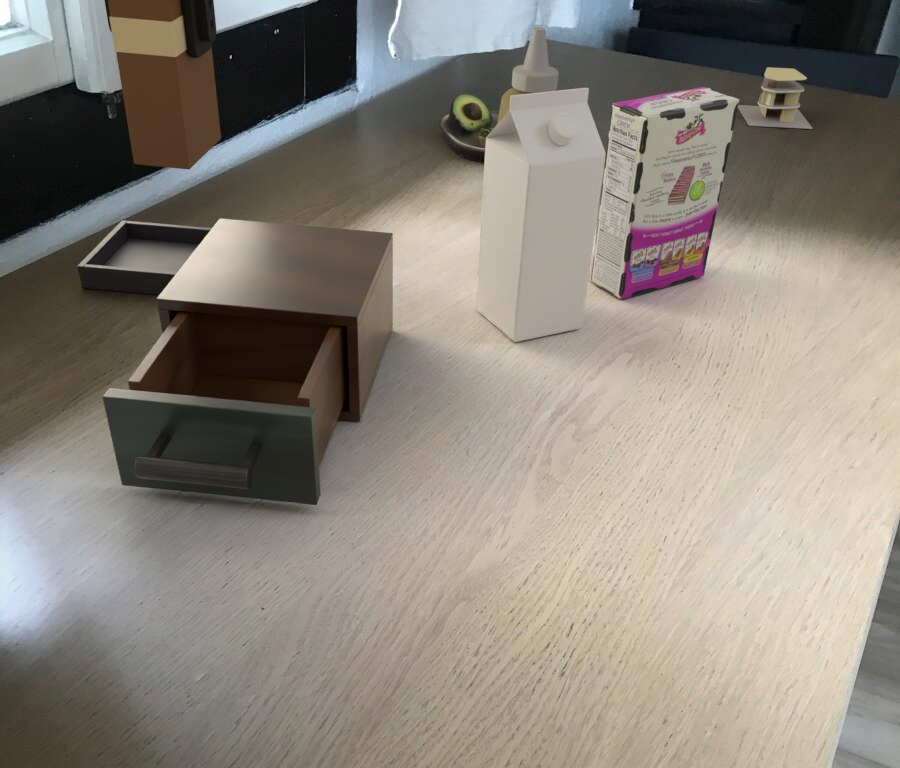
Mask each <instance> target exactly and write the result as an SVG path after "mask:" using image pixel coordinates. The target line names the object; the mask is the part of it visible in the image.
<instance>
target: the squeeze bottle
mask: <svg viewBox="0 0 900 768" xmlns="http://www.w3.org/2000/svg"><path fill="white" fill-rule="evenodd" d="M546 31H547V30H546V28H544V27H534V28H532V32H531V36H530V40H529V44H528V47H527V51H526V54H525V57H524V62H523V64H519V65H515V66H514V67H513V68H512V73H511V74H512V75H511V86H512V88H509V89H508V90H506V91H505V92H504V93H503V95H502V96H501V99H500V104H499V105H500V106H499V110H498V111H499V117H498V123H499V122H500V121H501V120H502V119H503V118H504V116H505V115H506V114H507V113H508V112H509V110H510V97H511V96H512V95H521V94H531V93H540V92H550V91H557V89H558V85H559V84H558V83H559V75H560V72H559V71H558V69H557V68H555V67H553V66H550V64H549V52H548V43H547V41H548V40H547V33H546Z"/></svg>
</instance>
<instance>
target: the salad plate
mask: <svg viewBox="0 0 900 768" xmlns="http://www.w3.org/2000/svg"><path fill="white" fill-rule="evenodd" d="M448 110H449V113H448V114H446V115H444V116H443V117H442V119H441V121H440V128H441V131H442V135H443V137H444V140H445V142H446V144H447V146H448V147H449V146H450V147H449V149H450V148H451V149H450V150H451V151H453V153H455V152H456V153H458V154H460V155H462V156H464V157H467V158H469V159H473V160H477V161H476V162H478V161H483V162H482V163H484V162H485V146H486V137H487V136H488V135H489V133H490V132H491V131H492V130H493V129H494V128H495V127H496V125H497V124H498V117H499V111H500V110H490V109H489V107H488V105H487V104H486V103H485V102H484V101H483V100H482V99H480V98H479V97H477V96H475V95H473V94H468V93H462V94H461V93H460V94H458V95H457V96H456V97H454V99H453V100H452V102H451V104H450V108H448ZM456 153H455V154H456ZM458 154H457V155H458ZM460 155H459V156H460ZM462 156H461V157H462ZM464 157H463V158H464ZM467 158H466V159H467ZM469 159H468V160H469ZM473 160H472V161H473Z"/></svg>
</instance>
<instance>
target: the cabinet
mask: <svg viewBox="0 0 900 768" xmlns="http://www.w3.org/2000/svg"><path fill="white" fill-rule="evenodd" d="M211 228H212V229H211V230H210V232H209V233H208V234H207V235H206V237H205V238H204V239H203V241H202V242H201V243H200V244H199V246H198V247H197V248H196V249H195V251H194V252H193V253H192V254H191V256H190V257H189V258H188V260H187V261H186V262H185V263H184V265H183V266H182V267H181V268H180V270H179V271H178V272H177V274H176V275H175V276H174V277H173V279H172V280H171V281H170V282H169V284H168V285H167V286H166V287H165V289H164V290H163V291H162V293H161V294H160V295H157V297H156V304H157V310H158V315H159V322H160V327H161V333H162V334H163V333H164V331H165V330H166V328H167V327H168V326H169V324H170V323H171V322H172V320H173V319H174V318H175V316H176V315H177V313H178V312H179V311H187V312H198V313H209V314H220V315H231V316H242V317H253V318H264V319H275V320H286V321H297V322H308V323H319V324H330V325H341V326H346V330H347V359H348V390H349V392H348V394H347V397H346V399H345V402H344V404H343V407H342V410H341V412H340V415H339V417H338V420H339V421H346V422H347V421H348V422H357V423H358V422H361V420H362V418H363V415H364V412H365V408H366V406H367V403H368V400H369V397H370V394H371V392H372V389H373V386H374V383H375V381H376V378H377V375H378V372H379V369H380V366H381V363H382V361H383V358H384V355H385V352H386V349H387V347H388V344H389V341H390V338H391V336H392V332H393V330H394V329H393V328H394V327H393V326H394V322H393V321H394V301H393V300H394V296H393V295H394V243H393V241H394V240H393V239H394V233H393V232H384V231H371V230H362V229H361V230H359V229H350V228H349V229H348V228H336V227H334V228H333V227H326V226H316V225H315V226H313V225H301V224H290V223H280V222H279V223H277V222H267V221H266V222H265V221H254V220H243V219H230V218H218V220H217V222H216V223H215V224H214V225H213V226H212V227H211ZM162 334H161V335H162ZM338 420H337V421H338Z"/></svg>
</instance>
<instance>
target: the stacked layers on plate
mask: <svg viewBox="0 0 900 768" xmlns="http://www.w3.org/2000/svg"><path fill="white" fill-rule="evenodd" d="M763 76H764V78H763V81H762V83H761V87H760V88H761V90H762V92H760V95H759V96H758V97H759V98H758V100H757V105H747V104H746V105H745V104H738V108H737V110H738V111H739V112H740V114H741V116H742V117H743V119H744V120H745V122H746V124H747V125H748V126H749V127H765V128H766V127H768V128H788V129H805V130H813V129H814V128H813V126H812V125H811V124H810V123H809V121H808V120H807V119H806V117H805V116H804V115H803V114H802V112H801V111H800V110H799V109H798V108H800V107H801V103H800V102H799V100H800V96H801V93H803V92H805V87H804V86H803V85H801V84H800V83H799V82H797V81H806V80H807V79H808V77H807V76H805V75H804V74H803V73H801V72H800V71H798V70H797V69H796V68H788V67H787V68H786V67H770V66H768V67H766V69H765V72H764V74H763Z"/></svg>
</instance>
